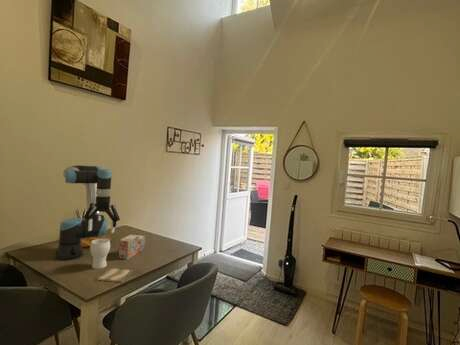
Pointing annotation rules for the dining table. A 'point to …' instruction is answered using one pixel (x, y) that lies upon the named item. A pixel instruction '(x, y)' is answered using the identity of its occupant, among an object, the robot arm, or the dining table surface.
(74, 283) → the dining table surface
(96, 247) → the cup
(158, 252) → the dining table surface
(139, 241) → the stack of blocks
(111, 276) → the picture frame
